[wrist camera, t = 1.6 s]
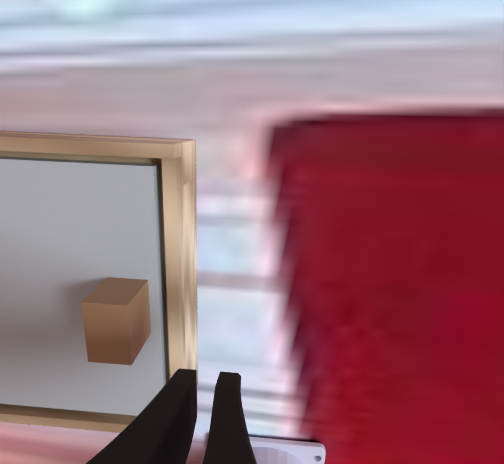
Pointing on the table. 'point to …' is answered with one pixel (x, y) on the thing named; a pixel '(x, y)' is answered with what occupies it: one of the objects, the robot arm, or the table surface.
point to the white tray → (81, 285)
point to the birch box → (174, 240)
